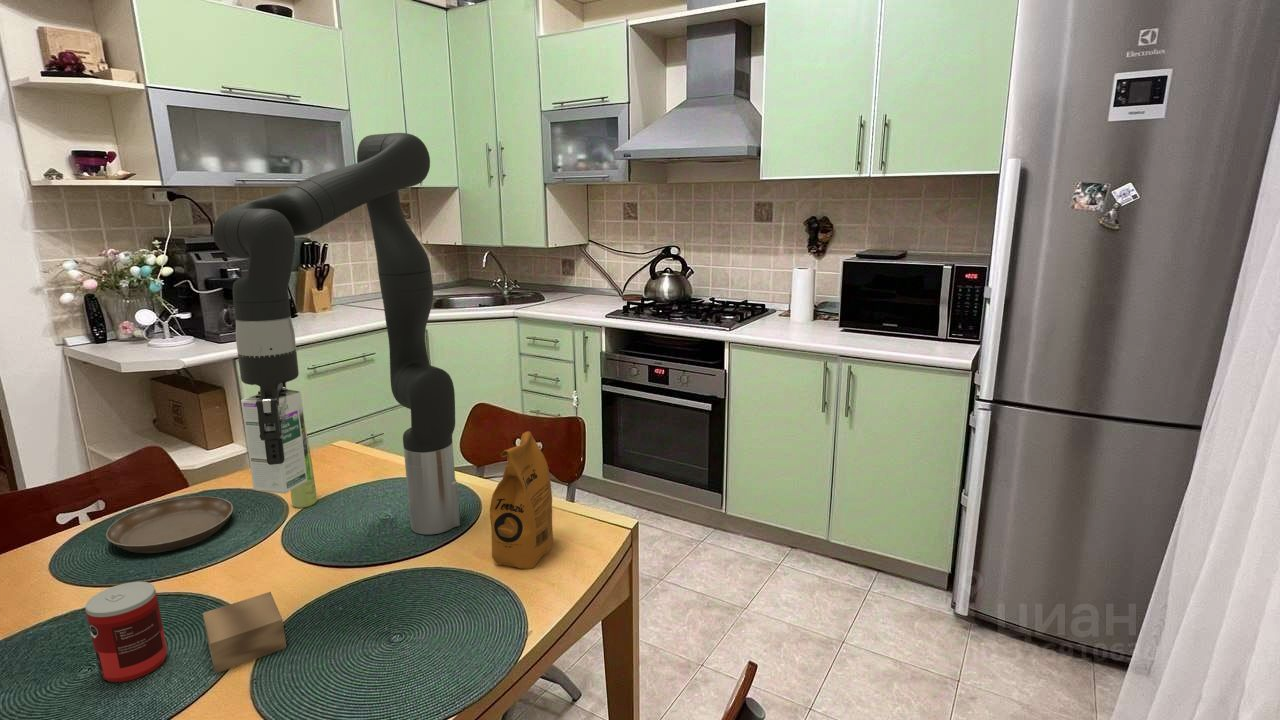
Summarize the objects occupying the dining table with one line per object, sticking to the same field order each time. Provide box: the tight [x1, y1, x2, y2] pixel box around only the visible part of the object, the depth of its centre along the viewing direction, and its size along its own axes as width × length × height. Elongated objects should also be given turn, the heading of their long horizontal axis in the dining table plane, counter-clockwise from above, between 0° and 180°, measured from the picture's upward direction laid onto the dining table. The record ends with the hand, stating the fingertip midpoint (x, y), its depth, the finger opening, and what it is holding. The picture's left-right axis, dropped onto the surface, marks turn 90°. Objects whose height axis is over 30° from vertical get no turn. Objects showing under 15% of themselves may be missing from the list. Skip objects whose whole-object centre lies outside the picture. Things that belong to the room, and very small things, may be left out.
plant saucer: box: [105, 496, 234, 554], centre depth 133 cm, size 21×21×3 cm
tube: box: [289, 422, 318, 509], centre depth 143 cm, size 6×5×20 cm
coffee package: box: [489, 430, 554, 570], centre depth 122 cm, size 10×12×22 cm
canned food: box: [85, 581, 168, 683], centre depth 94 cm, size 8×8×11 cm
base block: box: [202, 591, 287, 674], centre depth 99 cm, size 9×9×5 cm
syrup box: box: [240, 389, 311, 495], centre depth 101 cm, size 6×6×14 cm
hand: (279, 454), depth 101 cm, fingers closed on syrup box, 7 cm apart
